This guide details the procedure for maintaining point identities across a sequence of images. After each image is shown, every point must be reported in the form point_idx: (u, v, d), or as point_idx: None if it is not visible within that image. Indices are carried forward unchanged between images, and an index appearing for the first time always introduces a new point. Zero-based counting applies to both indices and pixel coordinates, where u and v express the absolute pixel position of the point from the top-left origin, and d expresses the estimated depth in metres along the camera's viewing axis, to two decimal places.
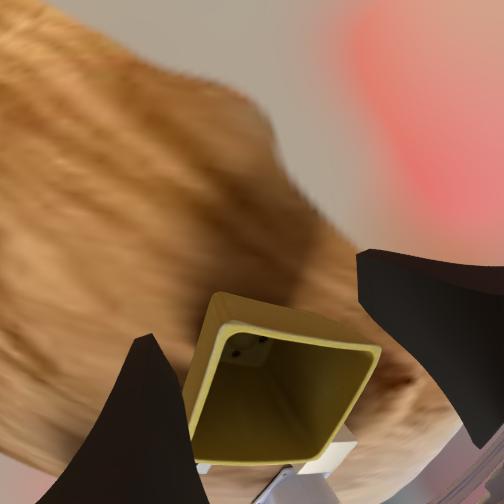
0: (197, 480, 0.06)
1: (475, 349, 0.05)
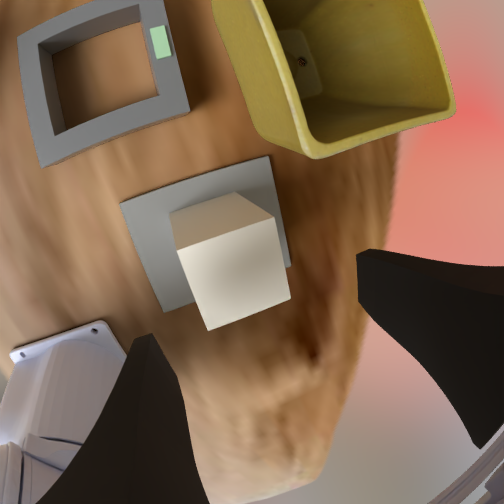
0: (197, 480, 0.06)
1: (475, 349, 0.05)
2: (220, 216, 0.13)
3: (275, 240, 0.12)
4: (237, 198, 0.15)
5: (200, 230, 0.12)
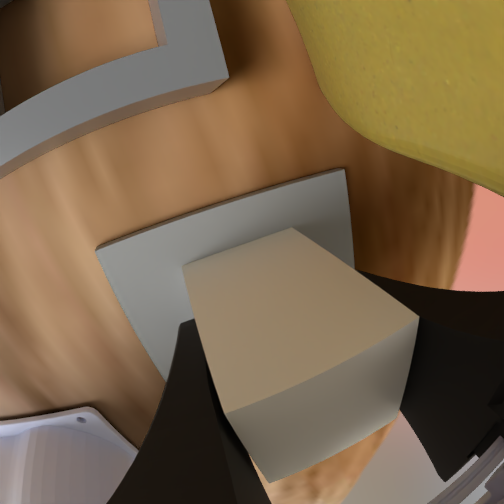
0: (252, 464, 0.06)
1: (436, 384, 0.05)
2: (292, 297, 0.07)
3: (408, 353, 0.05)
4: (306, 246, 0.09)
5: (265, 342, 0.06)
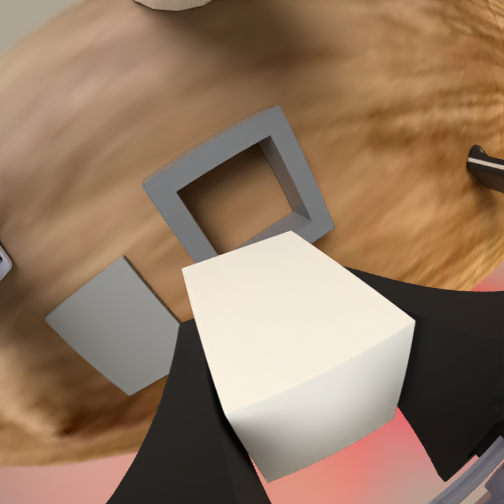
0: (251, 464, 0.06)
1: (436, 384, 0.05)
2: (291, 300, 0.07)
3: (404, 356, 0.05)
4: (305, 249, 0.09)
5: (265, 345, 0.06)
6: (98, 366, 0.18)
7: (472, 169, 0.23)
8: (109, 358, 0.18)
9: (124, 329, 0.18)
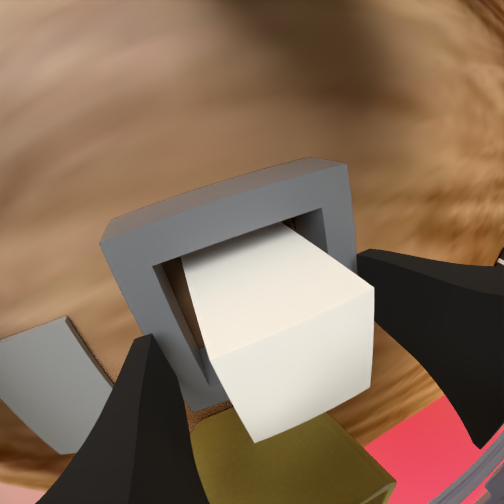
0: (197, 480, 0.06)
1: (475, 349, 0.05)
2: (270, 274, 0.08)
3: (369, 321, 0.07)
4: (286, 234, 0.10)
5: (245, 308, 0.07)
6: (26, 421, 0.11)
7: None
8: (40, 418, 0.11)
9: (59, 397, 0.11)
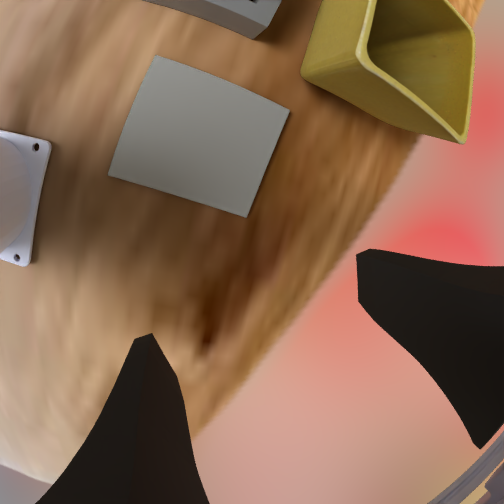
0: (196, 480, 0.06)
1: (475, 349, 0.05)
2: None
3: None
4: None
5: None
6: (192, 194, 0.17)
7: None
8: (199, 173, 0.17)
9: (196, 124, 0.16)
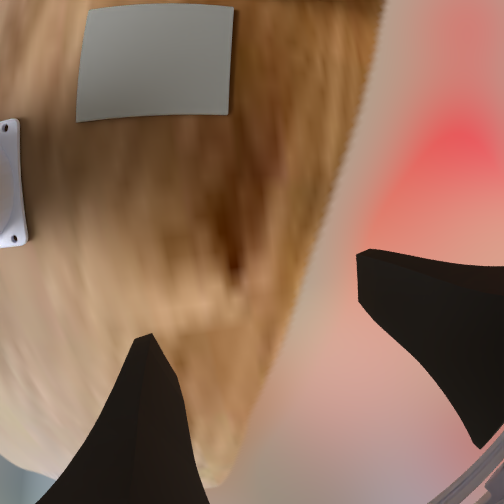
0: (196, 480, 0.06)
1: (475, 349, 0.05)
2: None
3: None
4: None
5: None
6: (163, 108, 0.15)
7: None
8: (163, 86, 0.14)
9: (145, 47, 0.13)
